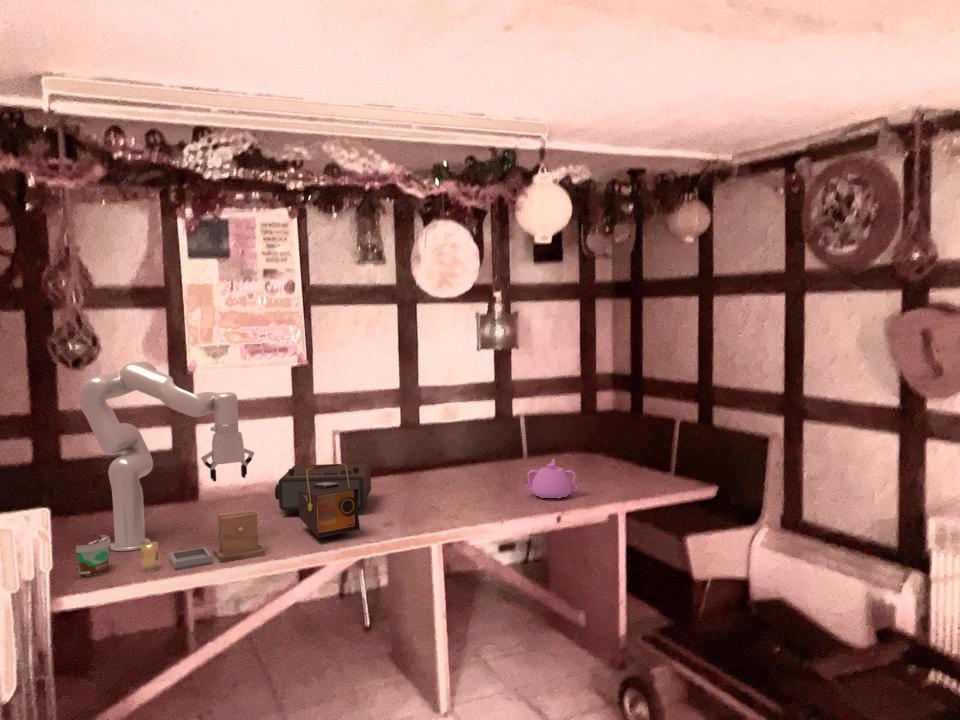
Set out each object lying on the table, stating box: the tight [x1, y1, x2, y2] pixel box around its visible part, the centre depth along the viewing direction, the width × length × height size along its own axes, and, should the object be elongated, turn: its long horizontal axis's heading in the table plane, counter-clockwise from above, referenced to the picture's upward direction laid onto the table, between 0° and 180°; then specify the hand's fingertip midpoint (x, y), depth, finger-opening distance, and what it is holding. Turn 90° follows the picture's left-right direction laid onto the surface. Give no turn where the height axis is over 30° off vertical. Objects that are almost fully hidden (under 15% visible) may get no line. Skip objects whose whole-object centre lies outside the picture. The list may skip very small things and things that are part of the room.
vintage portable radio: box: [298, 463, 361, 539], centre depth 276 cm, size 16×23×25 cm
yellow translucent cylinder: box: [140, 541, 160, 572], centre depth 242 cm, size 5×5×8 cm
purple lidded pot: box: [525, 458, 579, 498], centre depth 326 cm, size 22×22×14 cm
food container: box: [75, 534, 112, 577], centre depth 241 cm, size 12×6×10 cm, turn 170°
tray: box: [169, 547, 213, 571], centre depth 248 cm, size 11×11×2 cm
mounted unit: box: [212, 508, 266, 564], centre depth 255 cm, size 12×14×14 cm
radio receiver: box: [274, 462, 372, 514], centre depth 313 cm, size 35×27×18 cm
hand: (229, 479), depth 264 cm, fingers open, 9 cm apart
